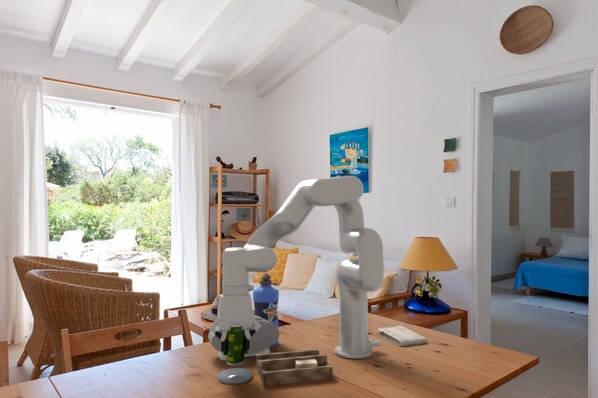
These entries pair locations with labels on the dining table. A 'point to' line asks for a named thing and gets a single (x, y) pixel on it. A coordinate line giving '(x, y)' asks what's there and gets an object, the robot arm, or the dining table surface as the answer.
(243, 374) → the grey glossy dome
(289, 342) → the dining table surface
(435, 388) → the dining table surface
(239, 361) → the beer can
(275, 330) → the alarm clock
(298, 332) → the dining table surface
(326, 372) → the rack
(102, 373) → the dining table surface
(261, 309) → the water bottle
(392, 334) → the washcloth
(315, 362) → the top offcut
